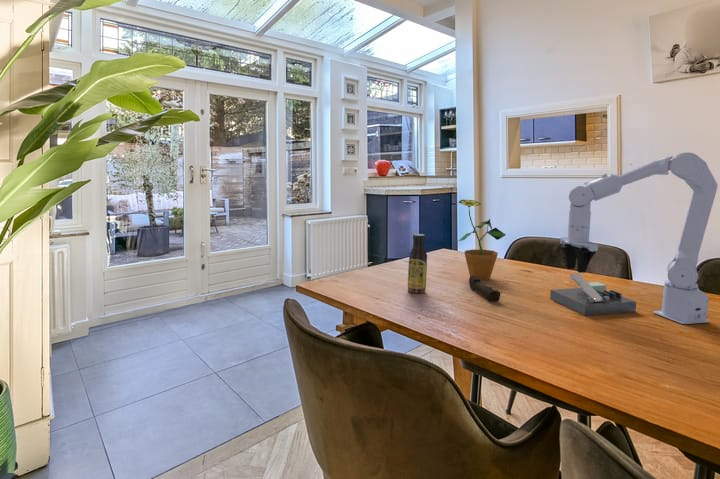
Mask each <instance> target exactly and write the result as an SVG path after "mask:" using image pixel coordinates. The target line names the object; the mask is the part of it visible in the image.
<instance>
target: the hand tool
mask: <svg viewBox="0 0 720 479" xmlns="http://www.w3.org/2000/svg"><path fill="white" fill-rule="evenodd" d="M468 279H469V280H468V283H469V288H470V289H471V291H473V292H477V293H478V294H480V295H481V296H483V297H484V298H486V299H487V301H488V302H489V303H497V302H499V301H500V298H501V292H500V291H499V290H496V289H493V288H492V287H491V286H488V285H487V284H485V283H483V282H482V281H481V280H480V279H478V278H477V277H475V276H471V277H470V276H469V278H468Z"/></svg>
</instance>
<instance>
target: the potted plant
mask: <svg viewBox="0 0 720 479" xmlns="http://www.w3.org/2000/svg"><path fill="white" fill-rule="evenodd" d="M458 203H459V204H460V205H461V204H462V205H464V206H467V207H468V216H469V221H470V223H471V226H472V229H473V231H471V232H468V233H465V235H463V236H462V237H461V238H460V239H458V240H457V242H461V241H464V240H466V239H467V238H468V237H469V236H471V235H472V234H475V236H476V238H477V240H478V247H479V249H467V250H464V257H465V260H466V265H467V269H468V274H469V278H470V277H471V276H475V277H477V278H478V279H480V281H487V280H490V279H491V276H492V273H493V270H494V268H495V264H496V261H497V258H498V255H499V252H498V251H495V250H489V249H483V247H482V244H481V241H482V240H483V238H484V237H485V236H487V234H488V235H490V236H491V237H492V238H494V239H495V240H496V241H498V240H500V239H502V238H503V237H506V235H507V234H506V233H504V232H503V231H502V230H500V229H498V228H497V227H492V224H491V219H490V218H489V219H488V220H486V221H481V222H480V224H478V225H475V226H474V224H473V220H472V216H471V209H470V208H471V207H478V206H480V205H481V204H482V203H481V202H479V201H476V200H474V199H473V200H472V199H471V200H470V199H461V200H458ZM485 225H487V226H486V227H487V228H486V232H485V233H484V235H482V236H481V237H480V238H479V235H478V231H477V230H476V228H478V229H482V227H484V226H485ZM489 228H490V230H489Z"/></svg>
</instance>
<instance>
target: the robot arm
mask: <svg viewBox="0 0 720 479" xmlns="http://www.w3.org/2000/svg"><path fill="white" fill-rule="evenodd" d="M669 171H670V172H671V174H673V175H674V176H676V177H677V178H679V179H681V180H683V181H684V182H685V183H686V184H687V185H688V186H689V187H690V189H691V190H692V194H691V198H690V202H689V205H688V210H687V211H686V217H685V220H684V224H683V228H682V232H681V236H680V238H679V243H678V246H677V249H676V252H675V255H674V257H673V259H672V260H671V261H670V262H669V263H668V265H667V280H665V281H664V283H663V293H662V301H661V302H662V305H661V310H654V311H653V314H655V315H658V316H660V317H663V318H666V319H668V320H671V321H674V322H676V323H678V324H681V325H690V324H691V325H692V324H693V325H695V324H704V323H709V322H710V321H709V319H707V318H708V311H709V310H708V308H709V304H710V302H709V299H710V298H709V296H708V294H707V293H706V292H704V291H702V290H700V288H699V284H698V283H697V282H698V280H699V273H698V271H697V266H698V261H699V254H700V250H701V247H702V243H703V240H704V236H705V232H706V229H707V226H708V223H709V219H710V214H711V212H712V208H713V205H714V201H715V197H716V194H717V190H718V182H717V181H716V179H715V177H714V175H713V173H712V171H711V170H710V168H709V166H708V164H707V162H706V161H705V160H703V158H702V157H700V156H699V155H697V154H696V153H693V152H690V151H688V152H682V153H679V154H677V155H676V156H673V155H672V156H668V157H664V158H659V159H657V160H653V161H651V162H649V163H647V164H643V165H642V166H640V167H637V168H634V169H632V170H630V171H627V172H625V173H623V174H621V175H616V174H613V173H609V174H607V173H604V174H602V175H600V176H601V177H599V178H597V179H595V180H592V181H586V182H584V183H583V185H584V186H583V185H577V186H576V187H573V189H572V190H570V191H569V195H568V200H569V202H570V203H569V204H570V205H569V211H568V226H567V229H568V230H567V237H566V236H565V237H559V244H561V246H560V250H561V251H562V253H563V256H564V261H565V263H566V264H565V265H566V269H568V270H574V269H575V268H576V266H577V273H579V274H581V273H583V274H584V273H586V272H587V269H588V266H589V265H590V262H591V260H592V258H593V257H594V256H595V254H596V253H597V252H598V251H599V249H598V248H599V244H598V243H597V244H596V243H595V242H593V241H590V231H591V228H590V227H591V215H592V212H591V205H592V204H591V203H592V202H593V201H599V200H601V199H602V200H603V199H605V198H607V197H610V196H613V195H615V194H618V193H620V191H621V190H622V188H623V187H624V186H626V185H629V184H632V183H635V182H637V181H640V180H643V179H646V178H649V177H652V176H655V175H659V176H661V175H662V176H663V175H664V176H665V175H666V176H668V175H669ZM576 264H577V265H576Z"/></svg>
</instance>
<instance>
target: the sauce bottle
mask: <svg viewBox="0 0 720 479" xmlns="http://www.w3.org/2000/svg"><path fill="white" fill-rule="evenodd" d="M425 239H426V234H424V233H414V234H413V235H412V240H413V241H412V243H413V244H412V247H411V248H412V249H411V250H410V252H409V257H408V269H407V271H408V273H407V291H408V292H410V293H413V294H422V293H425V292H426V289H427V273H428V269H427V268H428V254H427V252H426V250H425Z"/></svg>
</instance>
